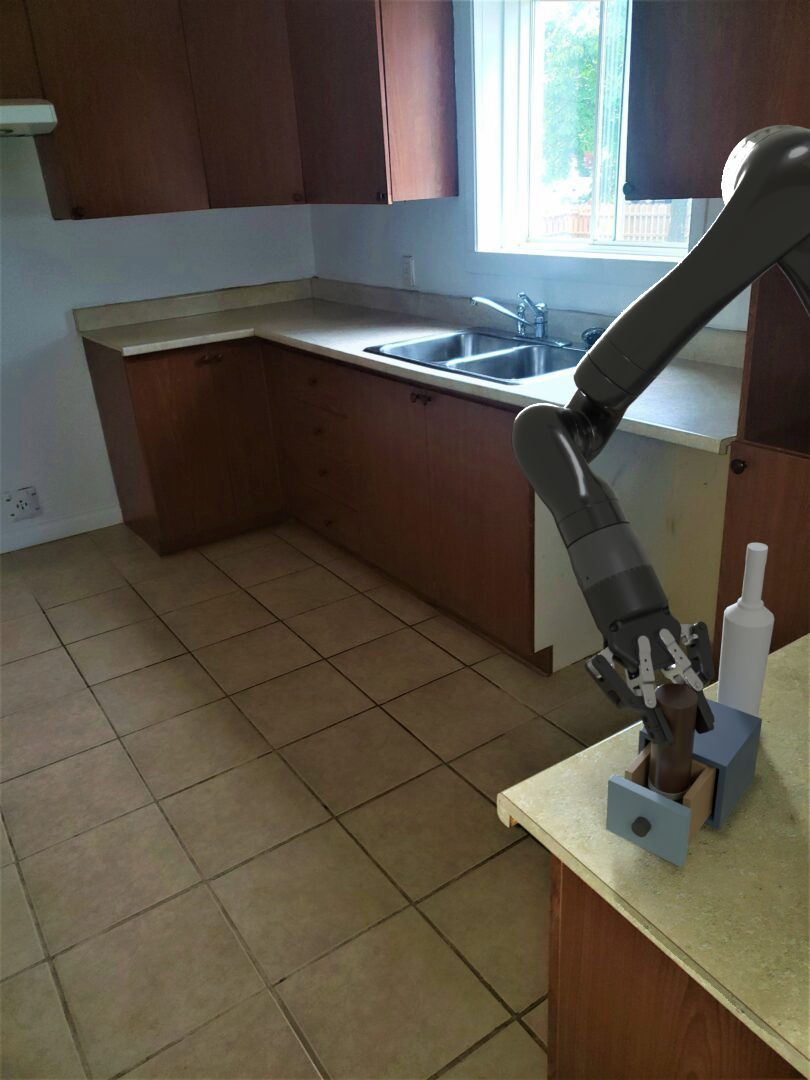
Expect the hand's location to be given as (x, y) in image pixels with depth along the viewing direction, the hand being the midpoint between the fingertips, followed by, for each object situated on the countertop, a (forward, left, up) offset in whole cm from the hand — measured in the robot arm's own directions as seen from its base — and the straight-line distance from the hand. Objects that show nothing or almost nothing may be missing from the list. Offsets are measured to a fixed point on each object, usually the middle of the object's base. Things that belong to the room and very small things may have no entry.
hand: (687, 738), depth 79 cm
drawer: (+1, -1, -12) cm, 12 cm away
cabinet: (-6, -5, -13) cm, 15 cm away
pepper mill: (0, -2, -9) cm, 9 cm away
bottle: (-16, -10, -13) cm, 23 cm away
